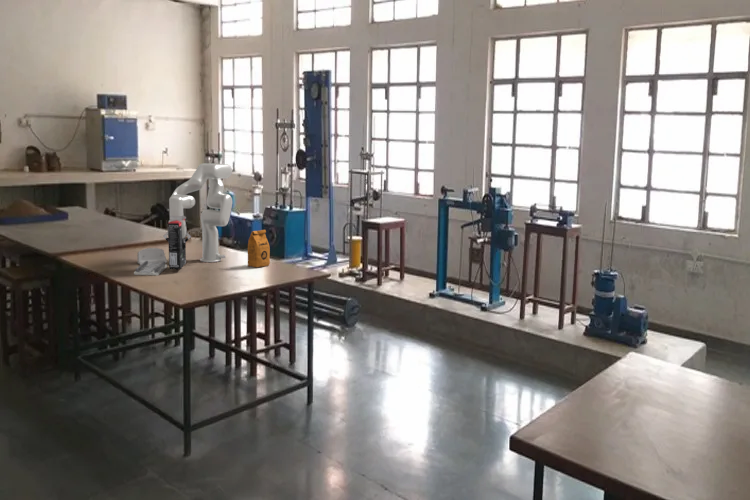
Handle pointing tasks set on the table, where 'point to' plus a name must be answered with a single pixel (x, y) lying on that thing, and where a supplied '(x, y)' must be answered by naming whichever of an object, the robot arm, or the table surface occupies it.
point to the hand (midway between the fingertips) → (177, 249)
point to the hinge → (151, 256)
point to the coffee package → (258, 249)
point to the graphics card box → (176, 245)
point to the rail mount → (150, 268)
